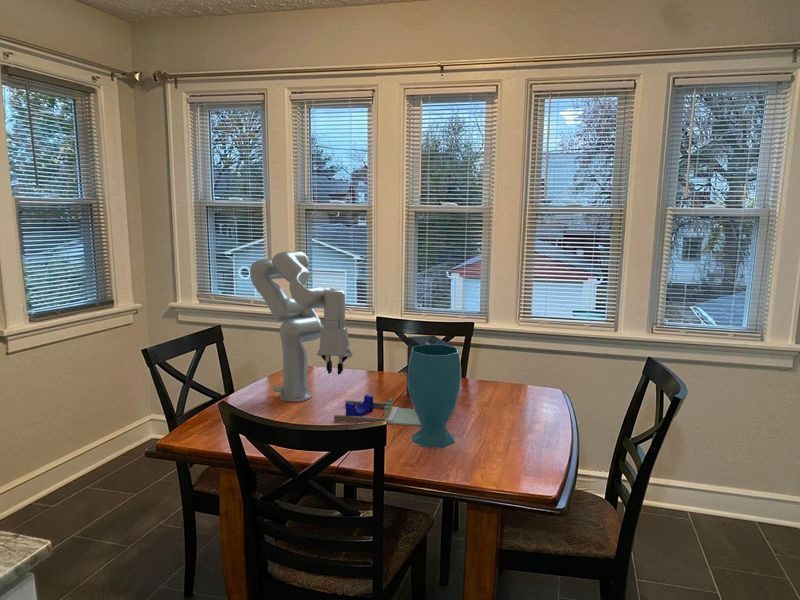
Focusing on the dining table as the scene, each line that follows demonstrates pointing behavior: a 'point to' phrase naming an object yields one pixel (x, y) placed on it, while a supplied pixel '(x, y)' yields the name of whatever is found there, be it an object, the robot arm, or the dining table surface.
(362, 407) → the cable clip
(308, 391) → the robot arm
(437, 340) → the headset box
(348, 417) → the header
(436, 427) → the vase
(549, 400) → the dining table surface
